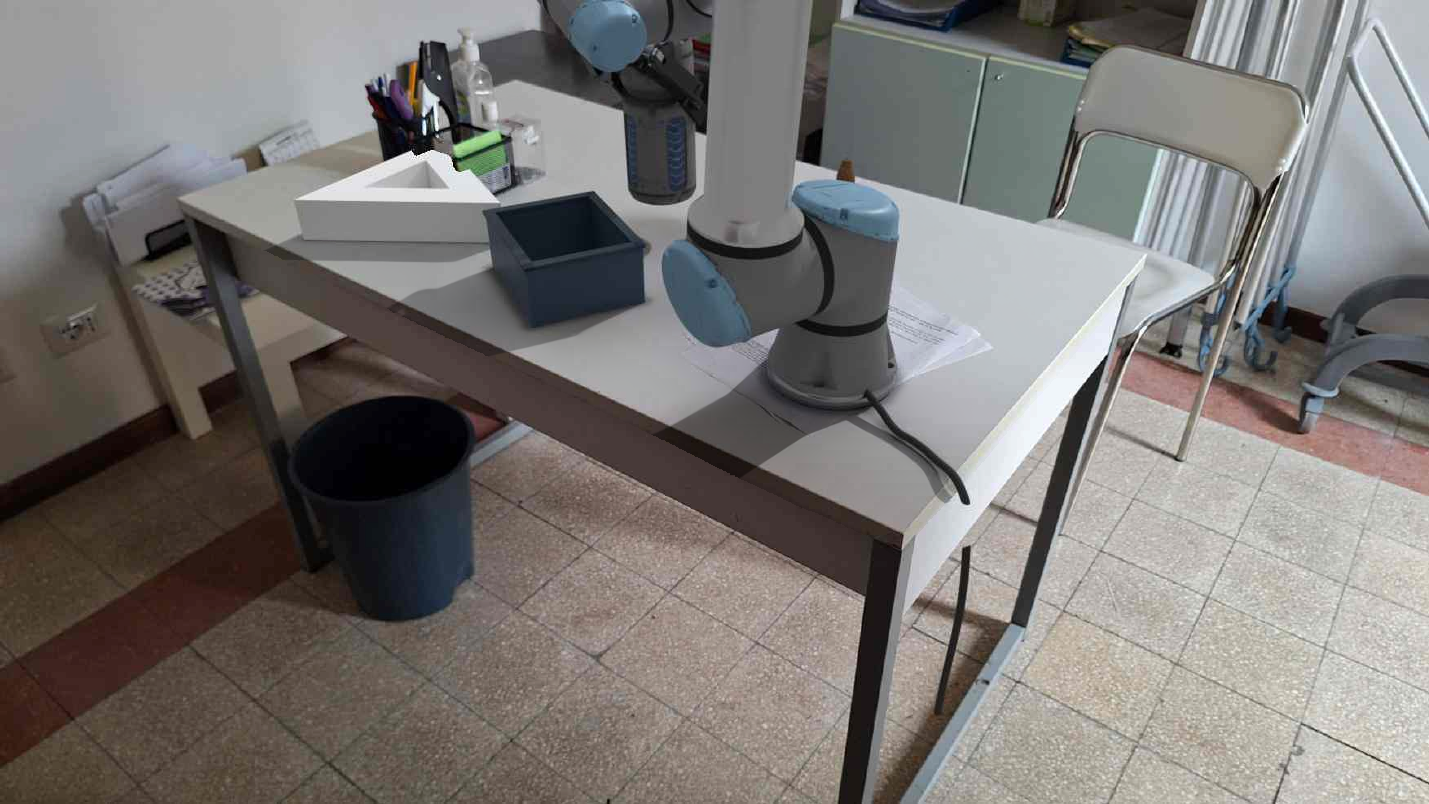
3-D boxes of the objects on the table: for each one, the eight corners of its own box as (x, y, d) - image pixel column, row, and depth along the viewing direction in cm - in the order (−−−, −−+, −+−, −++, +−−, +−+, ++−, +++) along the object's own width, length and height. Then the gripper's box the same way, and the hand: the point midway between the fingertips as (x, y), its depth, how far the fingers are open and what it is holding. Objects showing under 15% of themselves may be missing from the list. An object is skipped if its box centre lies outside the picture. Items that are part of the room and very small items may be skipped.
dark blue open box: (648, 302, 132) (646, 244, 127) (531, 329, 126) (524, 268, 121) (597, 245, 146) (593, 190, 141) (489, 266, 140) (482, 210, 135)
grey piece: (666, 174, 155) (660, 6, 141) (712, 200, 145) (709, 23, 132) (609, 187, 150) (596, 15, 136) (652, 216, 141) (643, 33, 127)
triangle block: (446, 174, 168) (440, 138, 164) (567, 207, 157) (564, 169, 153) (303, 239, 147) (293, 199, 143) (433, 283, 136) (425, 241, 132)
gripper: (682, 6, 118) (748, 101, 138) (537, -20, 129) (617, 72, 148) (657, 62, 118) (726, 149, 137) (513, 31, 128) (597, 116, 148)
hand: (670, 109), depth 143 cm, fingers closed on grey piece, 11 cm apart
